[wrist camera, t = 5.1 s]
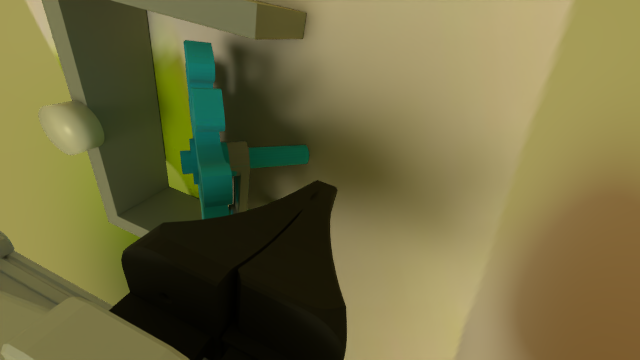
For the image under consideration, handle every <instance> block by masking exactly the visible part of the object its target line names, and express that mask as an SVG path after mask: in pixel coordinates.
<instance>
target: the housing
mask: <svg viewBox="0 0 640 360" xmlns="http://www.w3.org/2000/svg"><path fill="white" fill-rule="evenodd" d="M42 3H43V6H44V10H45V13H46V16H47V20H48V23H49V26H50V29H51V33H52V36H53V39H54V43H55V46H56V49H57V53H58V56H59V59H60V62H61V66H62V69H63V72H64V76H65V79H66V82H67V86H68V89H69V92H70V95H71V99H72V101H69V102H64V103H58V104H53V105H47V106H43V107H41V108H40V110H39V120H40V123H41V126H42V128H43V130H44V132H45V133H46V135H47V136H48V138H49V139H50V140H51V142H52V143H53V144H54V145H55V146H56V147H57V148H59V149H60V150H61V151H63V152H64V153H66V154H69V155H75V154H78V153H81V152H84V151H88V155H89V158H90V161H91V164H92V168H93V171H94V175H95V178H96V181H97V184H98V188H99V191H100V194H101V198H102V201H103V204H104V207H105V211H106V214H107V217H108V221H109V222H110V223H112V224H114V225H116V226H118V227H120V228H122V229H124V230H127V231H128V232H130V233H132V234H135V235H137V236H139V237H143V236H144V235H145V234H147V233H148V232H150V231H151V230H153V229H154V228H156V227H157V226H158V225H160V224H162V223H163V222H178V221H192V220H201V219H202V212H201V203H200V199H197V198H195V197H193V196H190V195H188V194H185V193H183V192H181V191H178V190H176V189H174V188H171V187H169V184H168V176H167V168H166V160H165V153H164V145H163V137H162V129H161V122H160V114H159V106H158V99H157V91H156V83H155V76H154V68H153V60H152V53H151V45H150V37H149V29H148V22H147V14H146V10H148V11H152V12H156V13H159V14H163V15H167V16H170V17H174V18H178V19H181V20H185V21H189V22H192V23H196V24H200V25H203V26H207V27H211V28H215V29H218V30H222V31H226V32H229V33H233V34H237V35H240V36H244V37H248V38H251V39H303V34H304V27H305V20H306V13H305V12H301V11H297V10H293V9H288V8H284V7H280V6H276V5H272V4H268V3H263V2H259V1H255V0H42Z"/></svg>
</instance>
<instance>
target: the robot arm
mask: <svg viewBox="0 0 640 360" xmlns="http://www.w3.org/2000/svg"><path fill="white" fill-rule="evenodd" d="M336 194H337V188H336V187H334V186H332V185H329V184H326V183H323V182H321V181H318V180H317V181H315V182H313V183H311V184H309V185H307V186H305V187H303V188H302V189H300V190H298V191H296V192H294V193H292V194H290V195H288V196H286V197H283V198H281V199H279V200H276V201H274V202H272V203H269V204H267V205H264V206H261V207H258V208H255V209H251V210H248V211H244V212H240V213H235V214H231V215H227V216H221V217H215V218H209V219H201V220H192V221H178V222H163V223H162V224H160V225H158V226H157V227H156V228H154V229H153V230H151V231H150V232H148V233H147V234H145V235H144V236H143V237H141V238H140V239H139V240H137V241H136V242H134V243H133V244H131V245H130V246H129V247H127V248H126V249H125V250H124V251H123V254H122V259H121V261H122V267H123V270H124V274H125V277H126V280H127V283H128V287H129V290H130V293H129V294H128V295H126V296H125V297H124V298H123V299H121V301H119V302H118V303H117V304H116V305H115V306H112V305H110V304H108V303H107V302H105V301H103V300H101V299H99V298H98V297H96V296H94V295H92V294H90V293H89V292H87V291H85V290H83V289H82V288H80V287H78V286H76V285H74V284H73V283H71V282H69V281H67V280H65V279H63V278H62V277H60V276H58V275H56V274H55V273H53V272H51V271H49V270H48V269H46V268H44V267H42V266H40V265H39V264H37V263H35V262H33V261H31V260H30V259H28V258H26V257H24V256H23V255H21V254H19V253H17V252H15V251H14V247H13V245H12V243H11V242H10V240H9V239H8V237H7V236H6V235H5V234H4V233H2V232H1V231H0V360H344V356H345V351H346V341H347V319H346V305H345V302H344V299H343V297H342V293H341V290H340V287H339V283H338V280H337V276H336V271H335V266H334V261H333V256H332V249H331V238H330V216H331V211H332V208H333V204H334V201H335V197H336Z"/></svg>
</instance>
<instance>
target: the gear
mask: <svg viewBox="0 0 640 360" xmlns="http://www.w3.org/2000/svg"><path fill="white" fill-rule="evenodd" d="M184 50H185V59H186V76H187V84H188V93H189V106H190V116H191V123H192V131H193V139H189V141H190V150H191V151H180V155H181V164H182V171H183V174H189V173H193V176H194V184H198V188H199V197H200V203H201V212H202V219H209V218H215V217H221V216H227V215H231V214H235V213H240V212H244V211H248V210H251V209H248V210H247V203H248V190H249V177H250V168H262V167H274V166H286V165H298V164H307V163H308V161H309V151H308V148H307V146H306V145H292V146H272V147H252V148H248V145H247V143H246V141H242V142H220V134H219V132H222V131H225V116H224V106H223V98H222V90H221V89H216V88H213V83H214V82H215V62H214V55H213V50H212V46H211V43H206V42H197V41H188V40H185V41H184ZM232 176H234V204H233V187H232ZM229 204H230V205H229ZM228 205H229V210H228Z"/></svg>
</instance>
